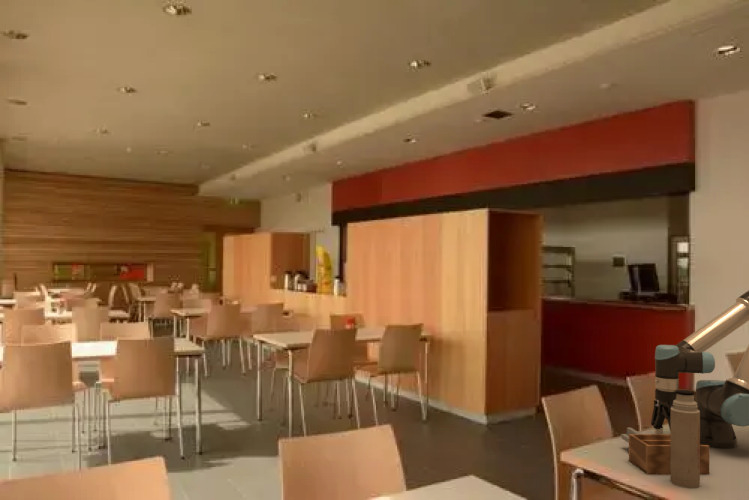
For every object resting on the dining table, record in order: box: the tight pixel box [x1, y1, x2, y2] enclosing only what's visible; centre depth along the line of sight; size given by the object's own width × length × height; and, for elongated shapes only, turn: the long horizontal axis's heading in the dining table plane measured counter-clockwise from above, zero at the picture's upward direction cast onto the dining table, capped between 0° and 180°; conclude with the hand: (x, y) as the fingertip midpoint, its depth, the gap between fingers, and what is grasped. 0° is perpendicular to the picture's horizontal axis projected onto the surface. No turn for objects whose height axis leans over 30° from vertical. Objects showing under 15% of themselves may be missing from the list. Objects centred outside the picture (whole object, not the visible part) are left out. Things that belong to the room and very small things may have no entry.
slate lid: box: [620, 427, 642, 444], centre depth 216 cm, size 16×10×4 cm, turn 92°
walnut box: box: [628, 433, 710, 476], centre depth 200 cm, size 20×13×9 cm, turn 92°
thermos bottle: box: [669, 389, 701, 489], centre depth 186 cm, size 8×8×28 cm
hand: (666, 452), depth 216 cm, fingers closed on slate lid, 10 cm apart
